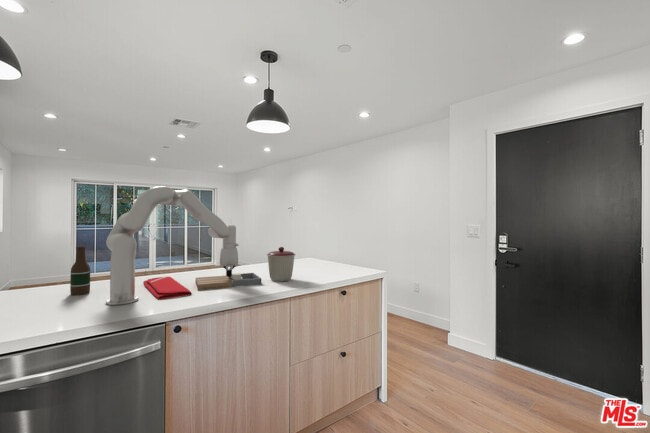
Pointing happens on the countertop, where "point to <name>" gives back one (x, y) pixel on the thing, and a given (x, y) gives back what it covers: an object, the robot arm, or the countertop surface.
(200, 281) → the walnut board
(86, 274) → the beer bottle
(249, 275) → the tray
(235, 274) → the tile
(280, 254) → the canister
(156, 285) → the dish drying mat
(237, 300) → the countertop surface
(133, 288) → the robot arm
